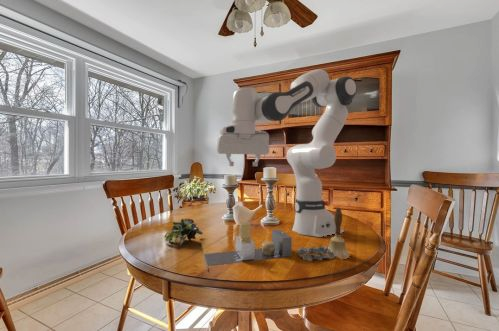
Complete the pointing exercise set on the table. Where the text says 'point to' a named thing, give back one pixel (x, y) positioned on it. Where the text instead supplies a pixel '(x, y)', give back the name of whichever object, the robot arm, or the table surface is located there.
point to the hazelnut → (268, 248)
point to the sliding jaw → (245, 242)
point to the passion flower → (183, 230)
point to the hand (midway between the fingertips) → (243, 166)
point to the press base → (281, 250)
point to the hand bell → (338, 238)
